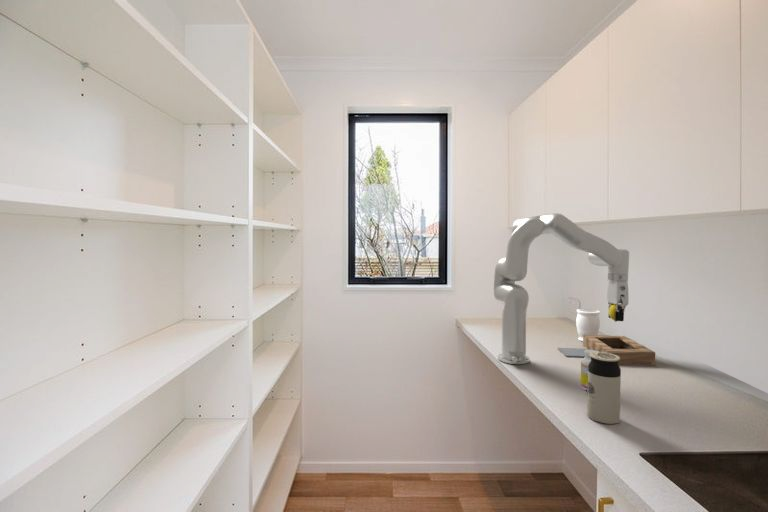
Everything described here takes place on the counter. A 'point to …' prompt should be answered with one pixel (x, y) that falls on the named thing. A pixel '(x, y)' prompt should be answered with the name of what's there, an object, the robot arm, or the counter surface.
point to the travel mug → (604, 388)
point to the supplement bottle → (585, 368)
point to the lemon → (612, 312)
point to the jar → (587, 322)
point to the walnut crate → (628, 355)
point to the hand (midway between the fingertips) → (615, 319)
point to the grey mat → (572, 352)
